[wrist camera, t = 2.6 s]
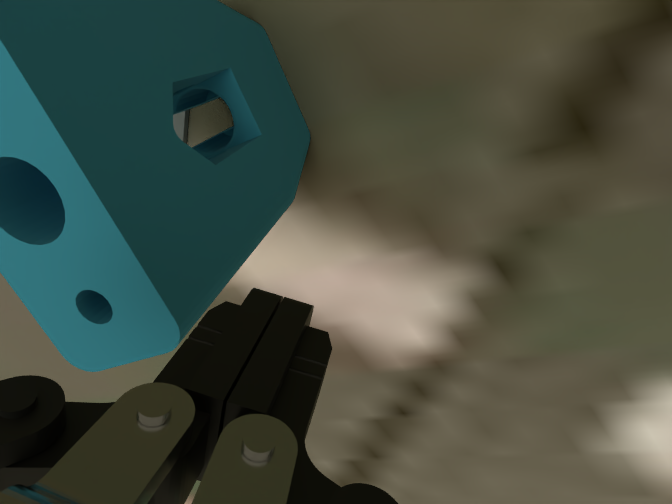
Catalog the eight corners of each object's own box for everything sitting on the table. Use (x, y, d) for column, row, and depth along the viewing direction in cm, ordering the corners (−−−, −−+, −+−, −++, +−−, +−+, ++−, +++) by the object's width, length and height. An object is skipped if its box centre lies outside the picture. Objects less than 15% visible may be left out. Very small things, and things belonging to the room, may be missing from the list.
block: (325, 169, 33) (191, 346, 15) (263, 192, 35) (78, 376, 17) (245, -15, 29) (-62, -60, 11) (179, 22, 31) (-177, 33, 13)
